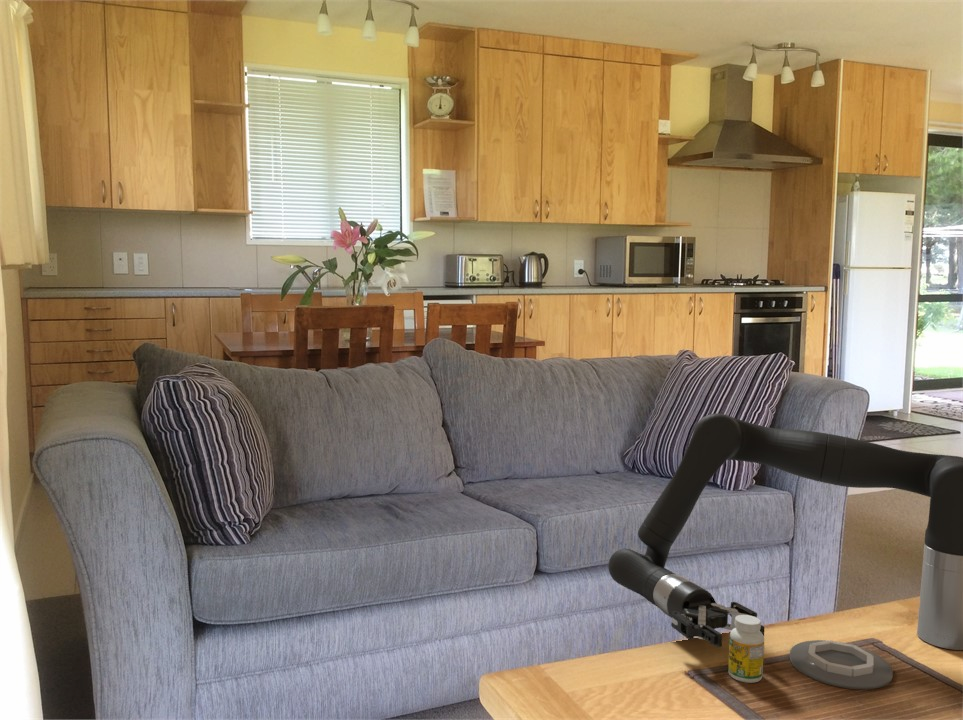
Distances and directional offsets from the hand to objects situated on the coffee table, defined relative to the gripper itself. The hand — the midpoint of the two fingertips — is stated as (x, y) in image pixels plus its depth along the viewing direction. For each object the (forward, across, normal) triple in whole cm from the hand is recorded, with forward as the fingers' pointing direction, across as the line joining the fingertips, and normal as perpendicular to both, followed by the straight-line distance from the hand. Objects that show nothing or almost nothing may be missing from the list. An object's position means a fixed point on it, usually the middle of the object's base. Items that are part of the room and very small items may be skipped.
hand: (741, 637), depth 139 cm
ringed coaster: (+4, +18, +6) cm, 19 cm away
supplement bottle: (+1, 0, +6) cm, 6 cm away
